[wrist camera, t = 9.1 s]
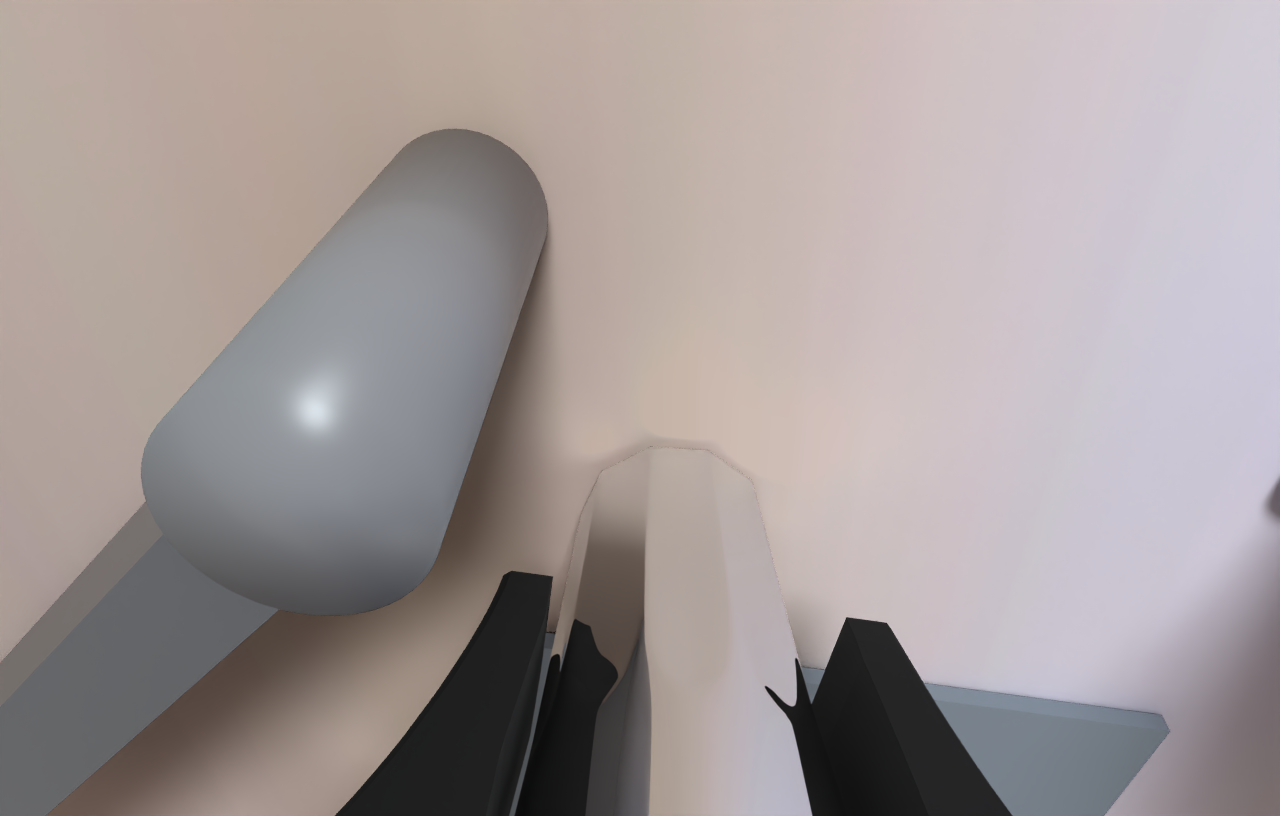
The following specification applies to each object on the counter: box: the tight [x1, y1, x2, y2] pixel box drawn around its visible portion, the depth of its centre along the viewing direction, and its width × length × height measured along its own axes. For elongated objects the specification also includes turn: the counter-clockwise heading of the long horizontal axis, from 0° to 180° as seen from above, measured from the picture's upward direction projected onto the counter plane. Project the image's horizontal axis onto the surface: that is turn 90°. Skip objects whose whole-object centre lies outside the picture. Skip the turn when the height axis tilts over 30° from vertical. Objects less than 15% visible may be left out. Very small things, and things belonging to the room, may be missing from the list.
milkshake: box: [514, 446, 847, 816], centre depth 12 cm, size 4×5×10 cm
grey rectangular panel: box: [0, 129, 548, 816], centre depth 13 cm, size 2×20×7 cm, turn 135°
